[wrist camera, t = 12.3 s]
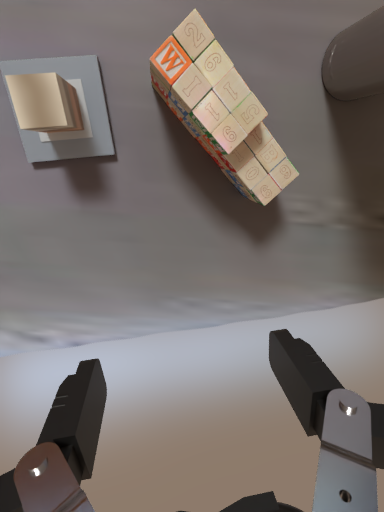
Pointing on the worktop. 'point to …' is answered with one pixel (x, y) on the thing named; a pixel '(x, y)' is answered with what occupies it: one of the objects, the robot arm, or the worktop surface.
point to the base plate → (90, 102)
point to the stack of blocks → (220, 110)
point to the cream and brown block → (45, 102)
